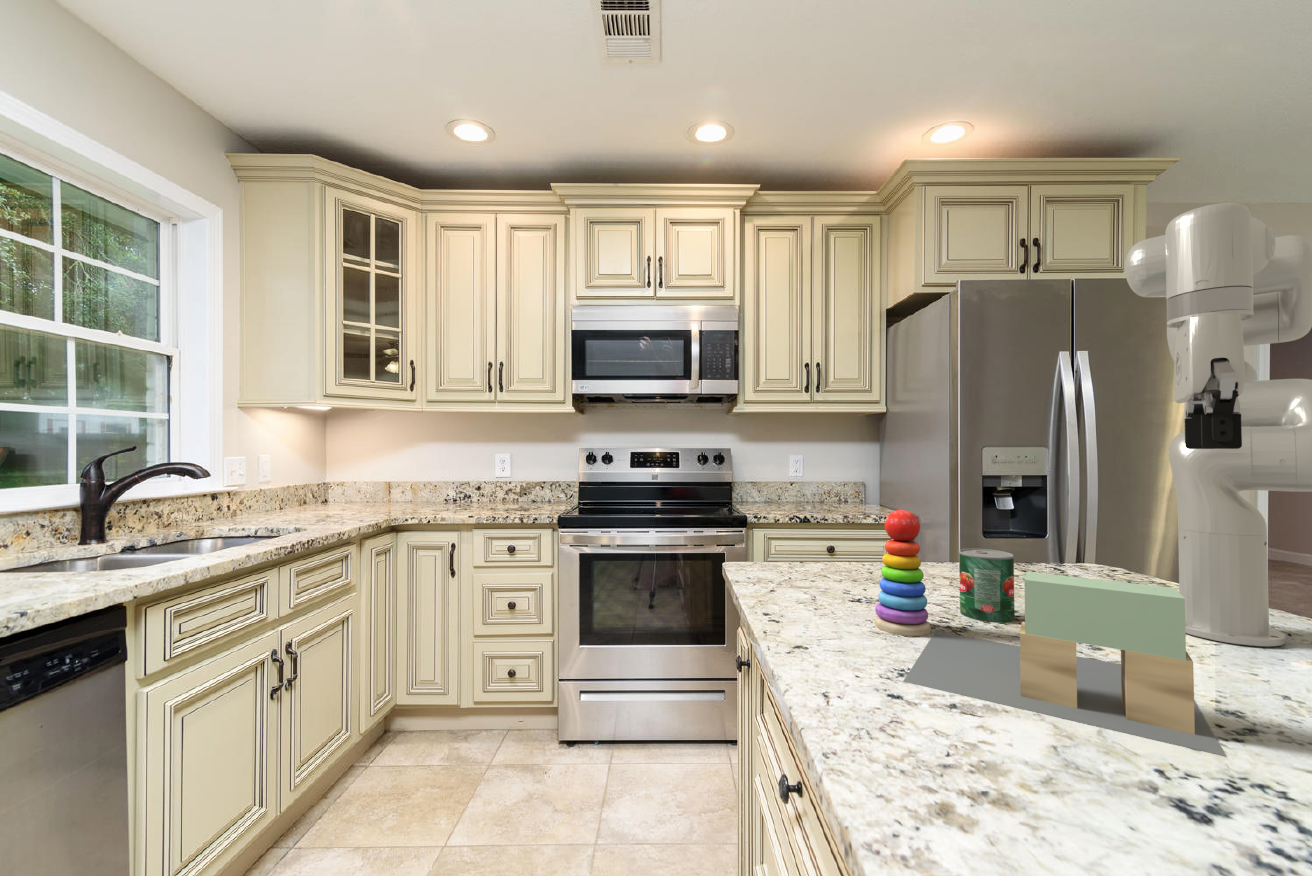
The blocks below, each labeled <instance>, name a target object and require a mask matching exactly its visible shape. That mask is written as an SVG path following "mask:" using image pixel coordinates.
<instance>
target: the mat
mask: <svg viewBox="0 0 1312 876" xmlns="http://www.w3.org/2000/svg"><path fill="white" fill-rule="evenodd" d="M1076 663H1077V708H1072V707H1068V706H1063V705H1059V704H1054V703H1050V702H1045V701H1041V700H1036V699H1032V698H1027V697H1023V696H1021V676H1020V645H1015V644H1008V643H1004V642H997V641H992V640H986V639H980V638H975V637H970V636H969V637H968V636H964V635H957V634H953V633H952V634H951V633H948V632H947V633H946V632H942V631H934V633H933V634H932V636H931V637H930V638H929V640H928V642H927V644H926V645H925V646H924V648H923V650H922V652H921V653H920V655H918V657H917V659H916V661H915V662H914V664H913V665H912V667H911V668H910V670H909V671H908V673H907V675H906V676H905V678H904V679H903V682H904V683H908V684H911V685H912V684H913V685H915V686H920V687H921V686H922V687H925V688H930V689H932V690H933V689H935V690H938V691H943V692H947V693H951V694H954V695H959V696H963V697H968V698H973V699H977V700H980V701H986V702H989V703H993V704H998V705H1003V706H1007V707H1011V708H1015V709H1020V710H1023V711H1029V712H1032V713H1037V714H1041V715H1045V716H1048V717H1054V718H1058V719H1062V720H1067V721H1072V722H1076V723H1080V724H1082V725H1083V724H1084V725H1088V726H1093V727H1097V728H1102V729H1105V730H1109V731H1113V732H1118V733H1122V734H1127V735H1131V736H1135V737H1139V738H1144V739H1148V740H1153V741H1157V742H1161V743H1165V744H1170V745H1174V746H1179V747H1181V748H1182V747H1184V748H1186V749H1191V750H1195V751H1200V752H1205V753H1208V754H1213V755H1216V756H1221V757H1225V758H1226V757H1227V755H1226V754H1225V751H1224V749H1223V748H1222V746H1221V745H1220V743H1219V741H1218V739H1217V738H1216V736H1215V734H1214V732H1213V731H1212V729H1211V727H1210V725H1209V724H1208V721H1207V720H1206V719H1205V717H1204V714H1203V713H1202V711H1201V710H1200V707H1199V706H1198V704H1197V702H1196V700H1195V699H1194V722H1195V735H1194V734H1190V733H1185V732H1181V731H1176V730H1172V729H1167V728H1163V727H1158V726H1154V725H1149V724H1144V723H1140V722H1135V721H1131V720H1127V719H1126V715H1125V712H1124V708H1123V704H1122V691H1121V663H1117V662H1116V663H1115V662H1111V661H1105V660H1101V659H1100V660H1099V659H1095V658H1088V657H1082V656H1077V655H1076Z"/></svg>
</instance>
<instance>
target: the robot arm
mask: <svg viewBox="0 0 1312 876" xmlns="http://www.w3.org/2000/svg"><path fill="white" fill-rule="evenodd" d="M1164 233H1165V234H1162V235H1159V236H1153V237H1150V238H1146V239H1143V240H1140V241H1137V243H1135V244H1133V246H1132V247H1131V248H1130V249H1129V250H1128V253H1127V255H1126V258H1125V261H1124V275H1125V278H1126V281H1127V284H1128V286H1129V287H1130V290H1132V292H1134V293H1135V294H1136V295H1137V296H1138V297H1139V296H1140V297H1142V298H1166V338H1167V344H1168V349H1169V354H1170V356H1171V358H1172V361H1173V363H1174V367H1173V368H1174V371H1173V372H1174V374H1173V375H1174V377H1173V382H1174V383H1173V401H1174V402H1175V403H1177V404H1183V403H1184V407H1183V408H1184V409H1183V411H1184V412H1183V413H1184V414H1183V417H1184V431H1183V432H1180V433H1178V434H1177V435H1175V436H1174V437H1173V438H1172V440H1171V441H1170V443H1169V447H1168V460H1169V464H1170V469H1171V474H1172V478H1173V484H1174V489H1175V496H1176V497H1175V498H1176V509H1177V512H1176V513H1177V536H1178V537H1177V538H1178V539H1177V541H1178V586H1179V587H1178V588H1179V589H1178V591H1179V593H1180V594H1181V595H1182V596H1183V597H1184V598H1185V632H1186V634H1187V635H1191V636H1195V637H1199V638H1202V639H1207V640H1210V641H1211V640H1212V641H1217V642H1221V643H1226V644H1234V645H1243V646H1251V647H1266V648H1268V647H1269V648H1270V647H1278V646H1279V647H1280V646H1283V645H1284V644H1286V635H1285V634H1284V633H1283V632H1281V631H1279V630H1277V629H1274V628H1272V627H1270V615H1269V614H1270V612H1269V611H1270V610H1269V604H1270V603H1269V602H1270V601H1269V571H1268V570H1269V567H1268V564H1269V563H1268V530H1267V522H1266V520H1265V518H1264V516H1263V514H1262V513H1261V512H1260V510H1259V509H1257V508H1256V507H1255V506H1254V505H1253V504H1252V503H1250V502H1249V501H1248V500H1246V499H1245V498H1244V497H1243V496H1242V495H1241V494H1240V492H1243V491H1265V492H1266V491H1270V492H1271V491H1272V492H1274V491H1275V492H1294V493H1295V492H1299V493H1300V492H1301V493H1302V492H1303V493H1309V492H1312V379H1309V378H1283V379H1282V378H1281V379H1280V378H1279V379H1267V380H1263V379H1262V380H1257V379H1258V374H1257V371H1256V369H1255V368H1254V367H1253V366H1252V364H1250V363H1249V361H1246V360H1245V349H1244V348H1245V347H1248V346H1258V345H1259V346H1260V345H1267V344H1268V345H1269V344H1280V343H1286V342H1293V341H1297V340H1299V339H1302V338H1303V337H1305V336H1307V334H1309V332H1310V331H1311V329H1312V244H1311V243H1310V241H1309V240H1307V239H1306V238H1305V237H1303V236H1300V235H1296V234H1292V235H1290V234H1288V235H1284V236H1277V237H1276V236H1275V232H1274V230H1273V229H1272V228H1271V227H1270V226H1267V225H1266V224H1265V223H1264V222H1263V221H1261V220H1260V219H1259V218H1256V217H1253V216H1252V214H1251V211H1250V209H1249V207H1247V206H1246V205H1245V204H1244V203H1243V204H1242V203H1238V202H1222V203H1214V204H1209V205H1203V206H1200V207H1197V208H1193V209H1190V210H1188V211H1186V212H1182V213H1181V214H1179V215H1177V216H1175V217H1174V218H1173V219H1171V220H1170V222H1169V223H1168V224H1167V226H1166V228H1165V232H1164Z"/></svg>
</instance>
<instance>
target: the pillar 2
mask: <svg viewBox="0 0 1312 876" xmlns="http://www.w3.org/2000/svg"><path fill="white" fill-rule="evenodd" d="M1120 664H1121V691H1122V704H1123V708H1124V712H1125V715H1126V719H1127V720H1131V721H1135V722H1140V723H1144V724H1149V725H1154V726H1158V727H1163V728H1167V729H1172V730H1176V731H1181V732H1185V733H1190V734H1194V735H1195V722H1194V700H1195V688H1194V687H1195V683H1194V682H1195V681H1194V678H1195V677H1194V661H1193V659H1192V657H1191V656H1190V655H1189V653H1188V652H1187V651H1186V660H1180V659H1174V658H1168V657H1162V656H1156V655H1150V654H1144V653H1138V652H1132V651H1126V650H1120Z"/></svg>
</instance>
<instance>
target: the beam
mask: <svg viewBox="0 0 1312 876" xmlns="http://www.w3.org/2000/svg"><path fill="white" fill-rule="evenodd" d="M1024 622H1025V634H1030V635H1036V636H1042V637H1048V638H1054V639H1060V640H1066V641H1072V642H1076V643H1079V644H1085V645H1089V646H1090V645H1091V646H1097V647H1102V648H1109V649H1115V650H1120V651H1121V650H1126V651H1132V652H1138V653H1144V654H1150V655H1156V656H1162V657H1168V658H1174V659H1180V660H1186V652H1187V647H1186V645H1187V643H1186V642H1187V641H1186V637H1187V636H1186V634H1187V633H1186V632H1185V598H1184V597H1183V596H1182V595H1181V594H1180V593H1179V589H1178V588H1176V587H1171V586H1170V587H1168V586H1157V585H1150V584H1143V583H1141V584H1140V583H1133V582H1123V581H1113V580H1104V579H1096V578H1095V579H1094V578H1086V577H1078V576H1068V575H1060V574H1059V575H1058V574H1052V573H1051V574H1049V573H1043V572H1042V573H1040V572H1032V571H1026V572H1025V575H1024Z"/></svg>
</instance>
